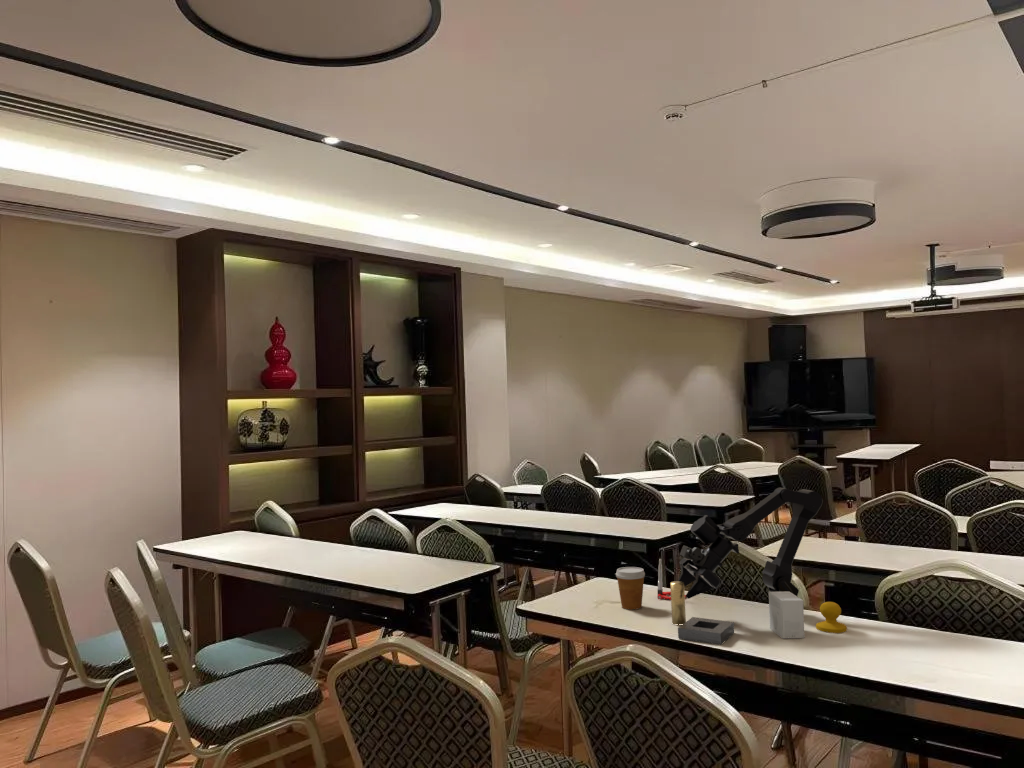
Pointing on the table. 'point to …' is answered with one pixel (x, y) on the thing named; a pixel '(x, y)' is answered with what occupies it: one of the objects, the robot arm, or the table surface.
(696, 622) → the block
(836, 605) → the doorknob
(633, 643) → the table surface
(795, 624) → the skincare box
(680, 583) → the brass pin
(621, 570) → the disposable coffee cup
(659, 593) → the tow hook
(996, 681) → the table surface
